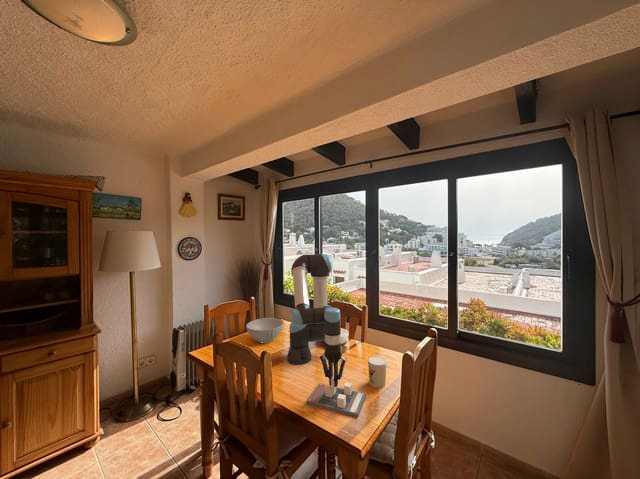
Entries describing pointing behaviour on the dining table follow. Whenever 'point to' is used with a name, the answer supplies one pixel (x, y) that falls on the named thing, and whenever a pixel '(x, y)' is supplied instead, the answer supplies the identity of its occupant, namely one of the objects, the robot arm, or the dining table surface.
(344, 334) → the bowl
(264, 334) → the decorative bowl
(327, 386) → the breaker toggle
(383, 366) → the coffee cup
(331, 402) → the breaker panel
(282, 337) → the dining table surface
